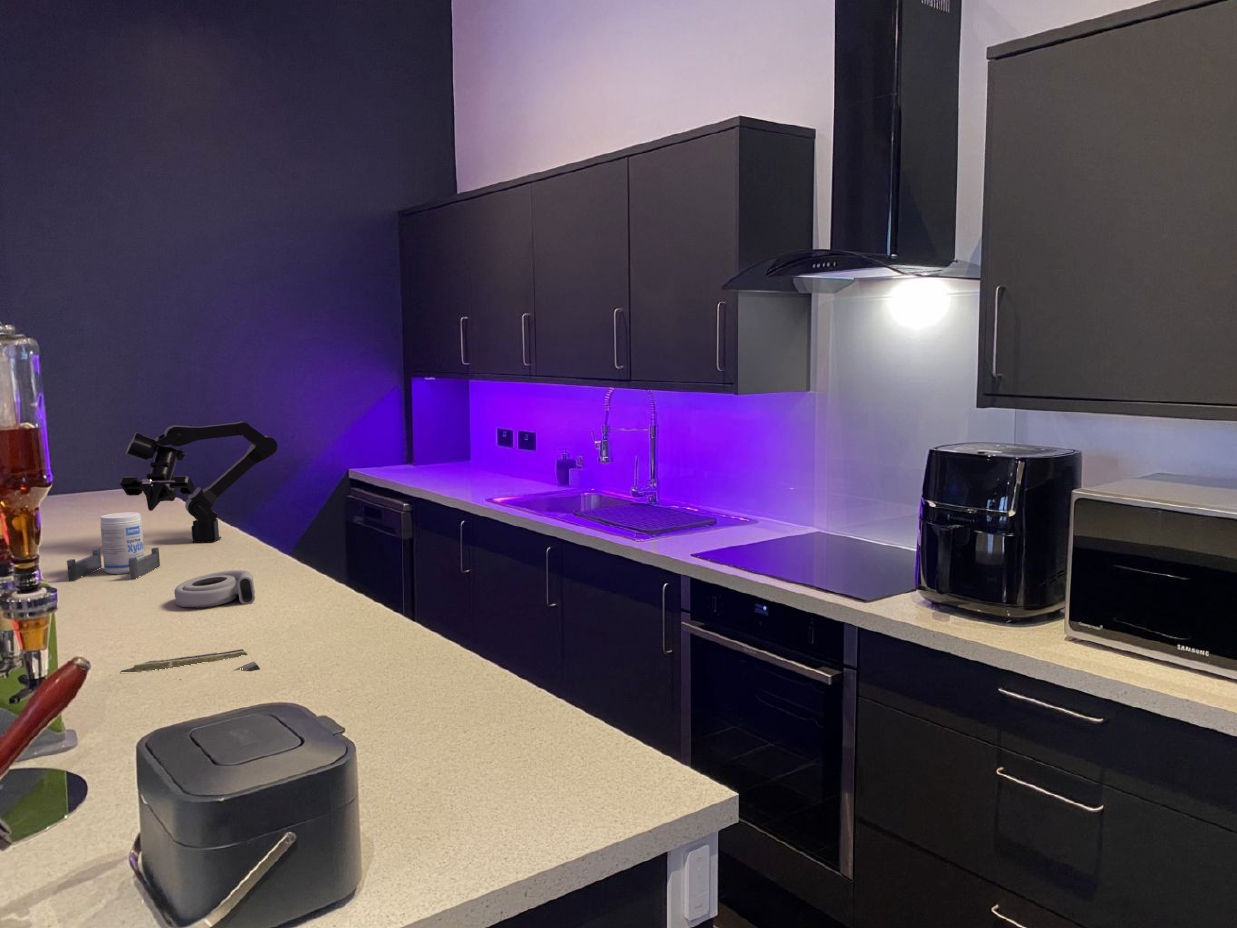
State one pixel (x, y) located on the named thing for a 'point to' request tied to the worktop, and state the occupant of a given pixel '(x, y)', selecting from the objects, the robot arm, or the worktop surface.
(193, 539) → the robot arm
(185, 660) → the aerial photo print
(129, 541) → the supplement tub
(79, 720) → the worktop surface
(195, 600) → the turbocharger housing
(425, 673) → the worktop surface
